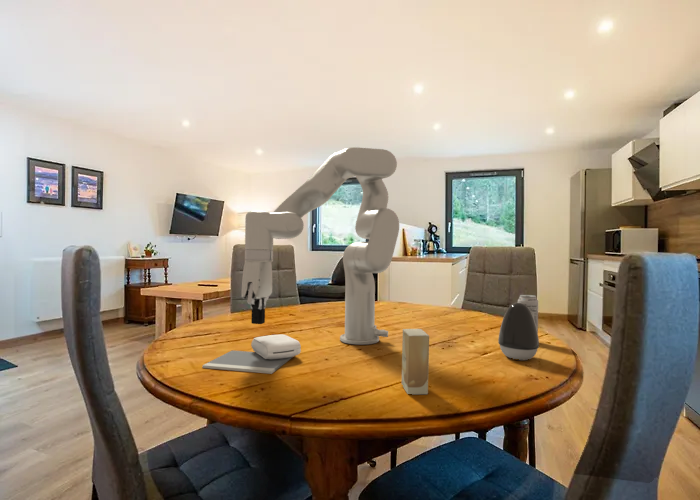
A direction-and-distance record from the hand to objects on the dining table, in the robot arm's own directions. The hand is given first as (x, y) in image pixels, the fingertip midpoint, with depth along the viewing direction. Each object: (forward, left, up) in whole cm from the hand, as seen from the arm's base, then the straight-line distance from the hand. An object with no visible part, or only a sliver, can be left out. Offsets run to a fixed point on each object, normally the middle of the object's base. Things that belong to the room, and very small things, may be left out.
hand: (258, 323), depth 104 cm
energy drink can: (-77, -35, -9) cm, 85 cm away
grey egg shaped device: (-70, -15, -9) cm, 72 cm away
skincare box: (-43, +16, -9) cm, 47 cm away
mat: (-1, +7, -9) cm, 11 cm away
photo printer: (-1, -4, -6) cm, 7 cm away
